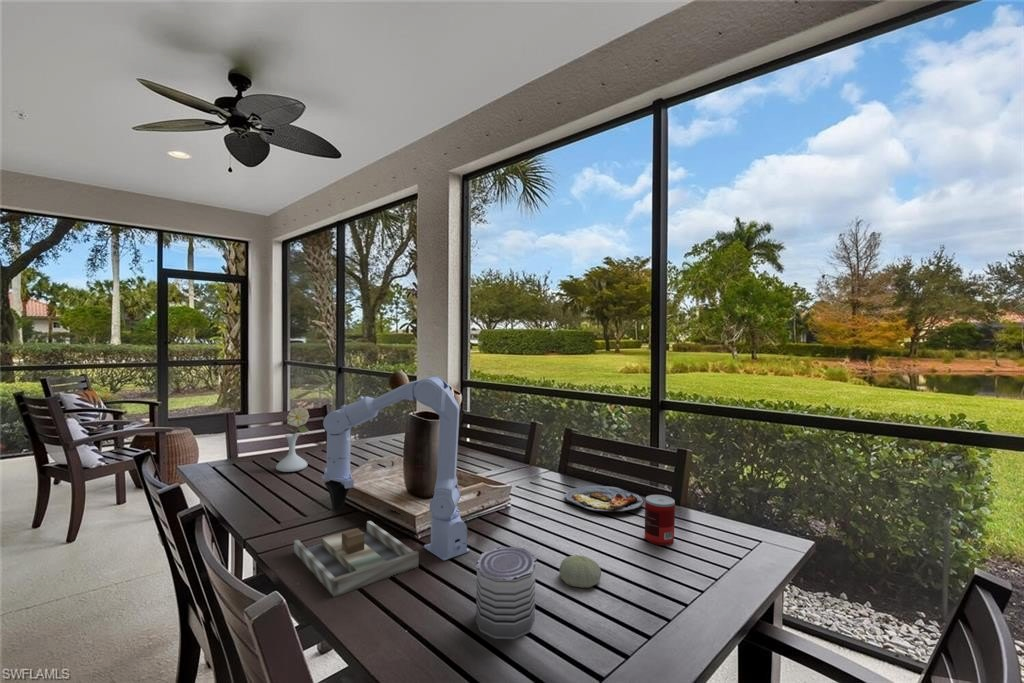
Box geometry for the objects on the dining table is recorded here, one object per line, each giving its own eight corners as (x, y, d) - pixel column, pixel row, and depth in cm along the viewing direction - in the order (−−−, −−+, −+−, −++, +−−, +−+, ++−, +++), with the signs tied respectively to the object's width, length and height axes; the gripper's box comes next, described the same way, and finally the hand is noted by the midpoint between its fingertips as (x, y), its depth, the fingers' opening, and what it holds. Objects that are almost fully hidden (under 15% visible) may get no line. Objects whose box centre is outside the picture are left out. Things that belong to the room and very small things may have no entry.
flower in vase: (269, 473, 183) (269, 408, 182) (287, 465, 194) (288, 404, 194) (300, 475, 181) (300, 409, 180) (317, 467, 192) (317, 405, 192)
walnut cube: (364, 549, 116) (364, 533, 115) (348, 554, 113) (348, 537, 113) (357, 544, 119) (357, 528, 118) (341, 548, 116) (341, 532, 116)
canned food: (675, 536, 131) (676, 497, 131) (672, 548, 124) (673, 506, 124) (647, 531, 135) (647, 492, 134) (642, 542, 127) (643, 501, 127)
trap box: (418, 567, 112) (418, 552, 112) (333, 597, 99) (333, 581, 99) (370, 531, 131) (370, 519, 131) (293, 552, 118) (294, 539, 118)
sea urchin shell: (595, 587, 101) (571, 554, 103) (570, 605, 104) (548, 572, 107) (610, 569, 108) (587, 539, 111) (587, 587, 111) (565, 556, 114)
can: (547, 626, 90) (548, 563, 90) (497, 648, 84) (498, 580, 83) (512, 598, 99) (513, 541, 99) (464, 616, 93) (465, 555, 93)
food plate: (658, 507, 153) (658, 496, 153) (606, 523, 140) (606, 511, 140) (602, 488, 174) (602, 478, 174) (552, 500, 161) (552, 490, 161)
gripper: (312, 453, 125) (312, 504, 126) (333, 465, 114) (333, 521, 115) (339, 449, 130) (338, 498, 130) (361, 460, 119) (361, 514, 119)
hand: (338, 508), depth 123 cm, fingers closed
